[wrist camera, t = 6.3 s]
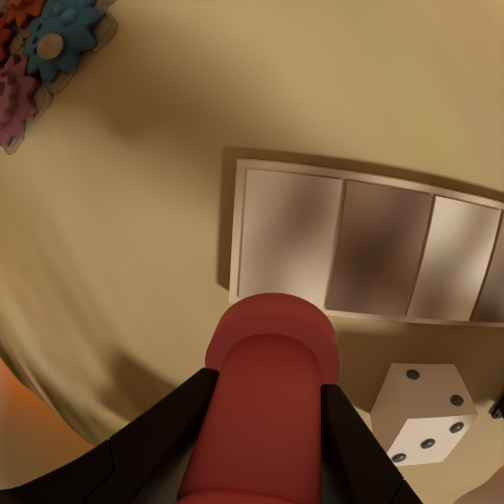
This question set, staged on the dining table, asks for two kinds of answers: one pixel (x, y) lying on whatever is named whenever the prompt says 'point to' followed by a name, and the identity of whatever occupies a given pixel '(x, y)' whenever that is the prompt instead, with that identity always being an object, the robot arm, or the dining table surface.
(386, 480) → the robot arm
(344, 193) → the board
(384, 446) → the die
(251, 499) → the pawn
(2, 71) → the gear puzzle
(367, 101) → the dining table surface
